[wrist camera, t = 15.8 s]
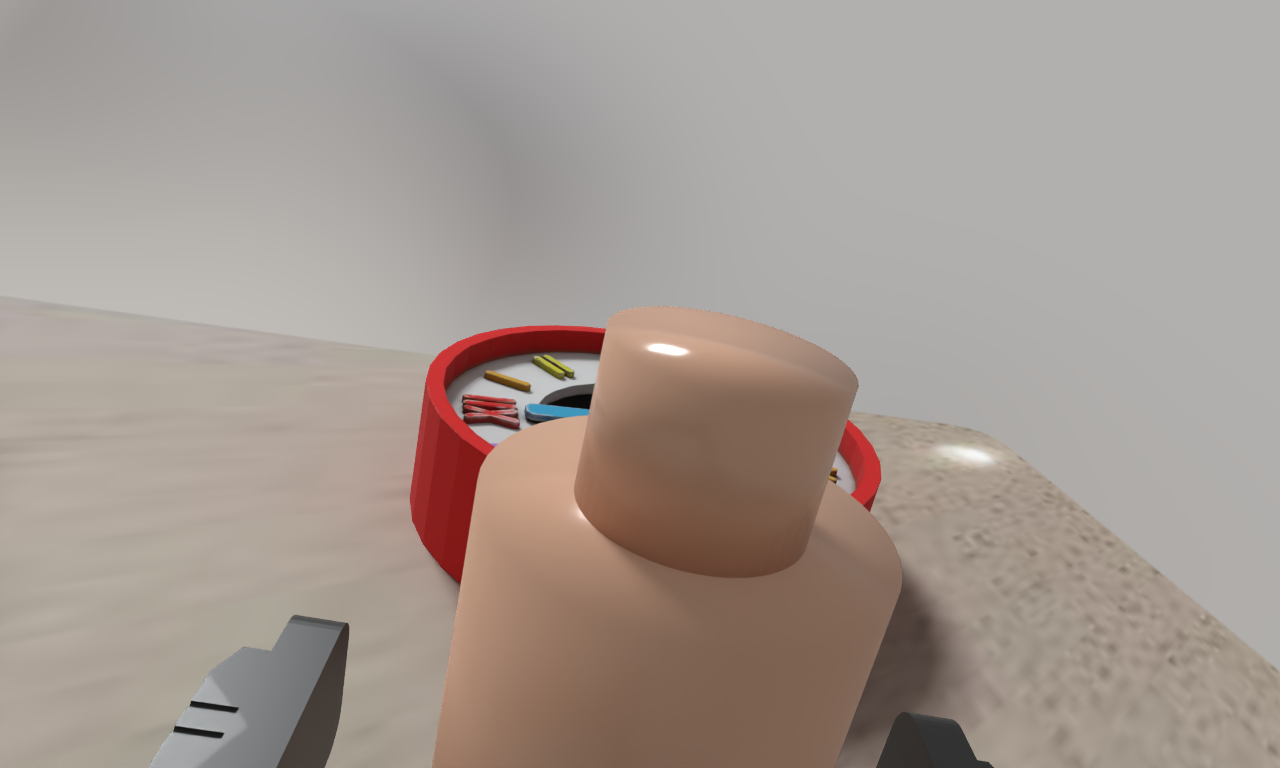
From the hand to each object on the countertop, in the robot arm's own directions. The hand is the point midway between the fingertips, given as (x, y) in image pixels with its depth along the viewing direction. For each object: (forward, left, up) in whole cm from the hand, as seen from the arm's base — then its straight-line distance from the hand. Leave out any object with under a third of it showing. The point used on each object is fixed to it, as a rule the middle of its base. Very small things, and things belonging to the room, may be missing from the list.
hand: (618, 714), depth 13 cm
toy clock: (-19, +17, -11) cm, 28 cm away
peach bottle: (+1, -1, -10) cm, 10 cm away
